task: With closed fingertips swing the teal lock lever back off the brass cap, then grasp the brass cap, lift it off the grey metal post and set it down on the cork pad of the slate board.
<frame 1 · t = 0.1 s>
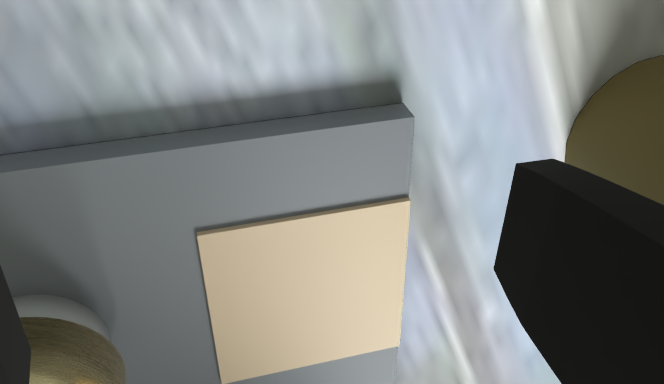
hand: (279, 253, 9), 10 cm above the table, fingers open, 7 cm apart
pepper shaker: (634, 129, 23), on the table
post board: (42, 323, 21), on the table
cap: (32, 382, 19), point 2 cm above the table, touching post board
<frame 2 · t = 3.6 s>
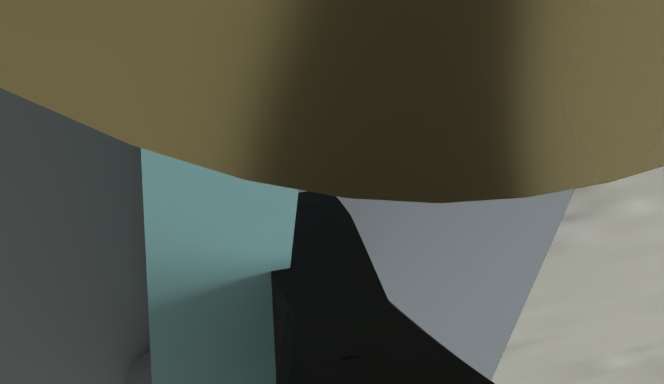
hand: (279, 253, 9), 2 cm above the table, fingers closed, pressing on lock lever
lock lever: (204, 317, 8), point 3 cm above the table, hinge at 3.0°, touching gripper
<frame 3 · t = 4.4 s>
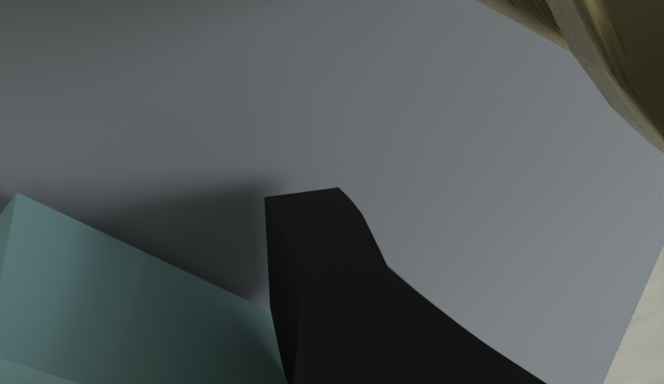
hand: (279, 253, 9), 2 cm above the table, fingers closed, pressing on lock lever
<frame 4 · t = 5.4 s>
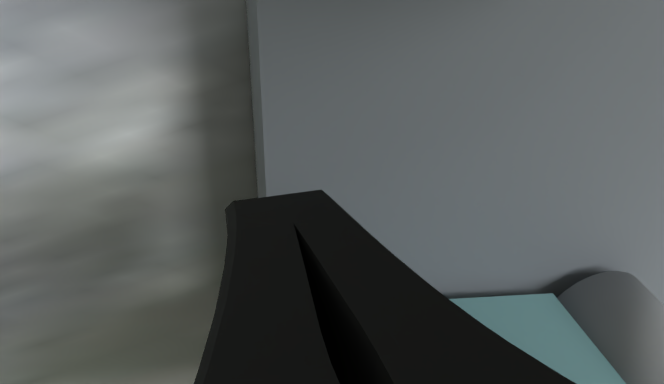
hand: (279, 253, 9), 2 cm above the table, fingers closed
lock lever: (498, 380, 11), point 3 cm above the table, hinge at 80.9°
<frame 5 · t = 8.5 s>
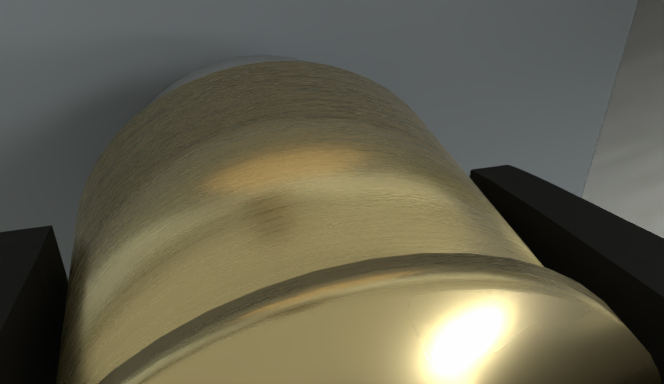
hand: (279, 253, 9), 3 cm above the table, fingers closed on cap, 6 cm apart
post board: (248, 152, 11), on the table
cap: (274, 236, 9), point 2 cm above the table, touching gripper, post board
when the fingers open (3 cm above the table, at t = 11.9 s): cap drops 1 cm, resting on post board.
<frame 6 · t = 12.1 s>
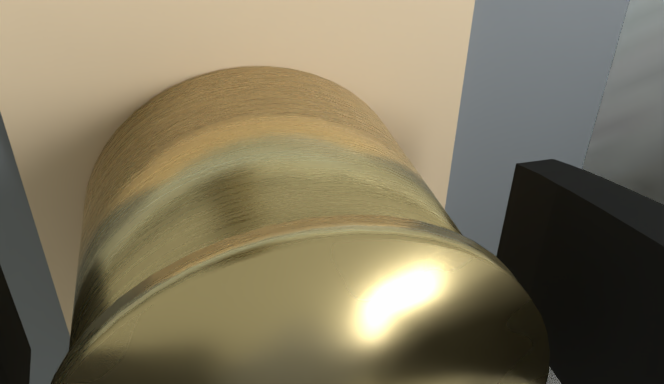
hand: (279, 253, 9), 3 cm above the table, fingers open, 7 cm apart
cap: (253, 215, 11), point 1 cm above the table, touching post board
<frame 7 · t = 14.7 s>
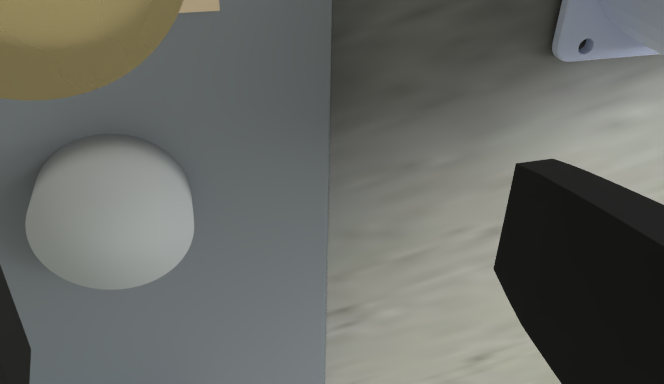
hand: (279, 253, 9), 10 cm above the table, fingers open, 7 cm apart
post board: (116, 181, 19), on the table
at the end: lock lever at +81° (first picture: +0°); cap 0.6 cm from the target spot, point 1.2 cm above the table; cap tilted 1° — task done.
